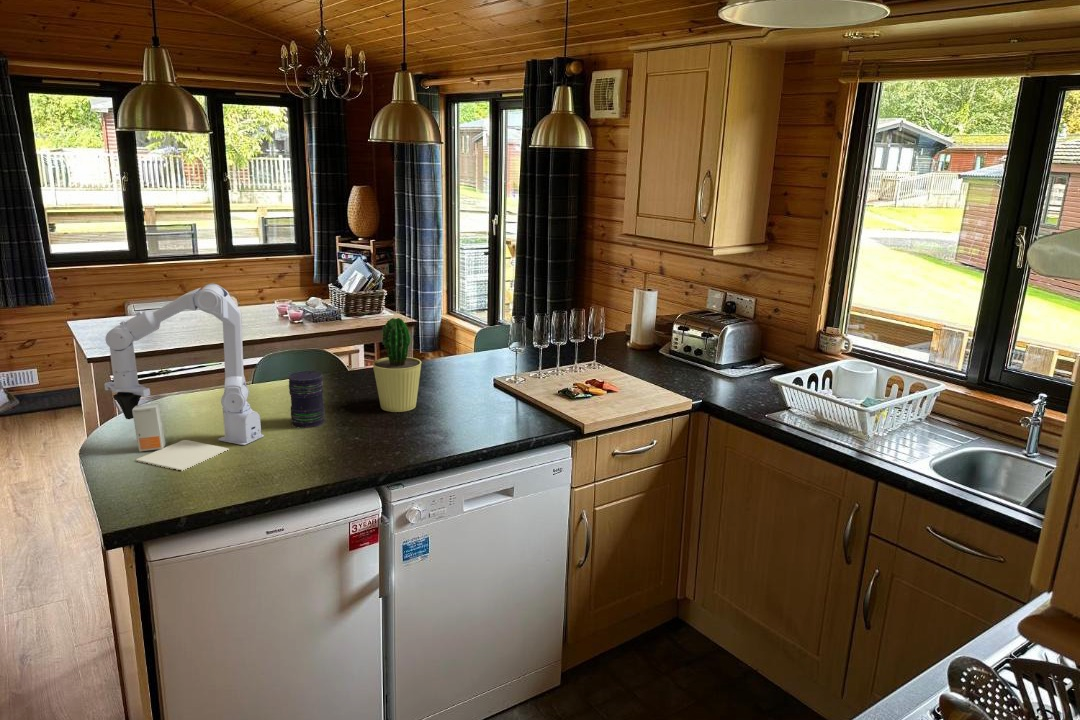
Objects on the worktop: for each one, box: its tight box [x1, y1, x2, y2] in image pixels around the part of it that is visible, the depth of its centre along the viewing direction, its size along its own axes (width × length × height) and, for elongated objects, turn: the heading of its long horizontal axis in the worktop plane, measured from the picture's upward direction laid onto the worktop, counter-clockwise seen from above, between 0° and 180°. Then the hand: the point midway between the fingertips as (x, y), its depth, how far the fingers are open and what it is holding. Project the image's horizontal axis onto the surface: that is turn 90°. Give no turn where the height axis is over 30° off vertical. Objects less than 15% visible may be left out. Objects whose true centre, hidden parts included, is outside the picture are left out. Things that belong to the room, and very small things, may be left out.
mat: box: [135, 439, 230, 472], centre depth 200 cm, size 16×16×1 cm
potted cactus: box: [372, 317, 422, 413], centre depth 240 cm, size 15×15×30 cm
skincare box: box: [132, 403, 167, 453], centre depth 202 cm, size 6×4×12 cm
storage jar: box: [288, 370, 326, 429], centre depth 225 cm, size 10×10×15 cm
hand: (130, 418), depth 204 cm, fingers closed
